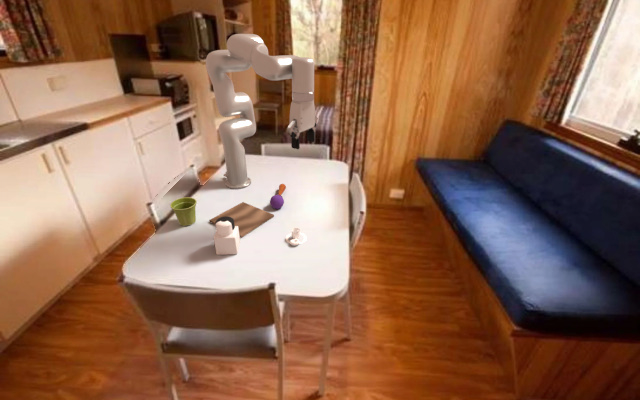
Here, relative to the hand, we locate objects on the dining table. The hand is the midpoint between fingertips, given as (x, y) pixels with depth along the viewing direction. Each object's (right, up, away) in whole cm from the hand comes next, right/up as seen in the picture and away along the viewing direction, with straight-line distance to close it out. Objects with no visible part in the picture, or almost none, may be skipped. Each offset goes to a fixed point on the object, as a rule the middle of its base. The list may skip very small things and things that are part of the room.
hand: (303, 144), depth 114 cm
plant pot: (-46, -29, +8) cm, 56 cm away
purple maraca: (-12, -21, +26) cm, 35 cm away
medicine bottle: (-26, -38, -6) cm, 46 cm away
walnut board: (-25, -28, +11) cm, 39 cm away
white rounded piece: (-6, -36, 0) cm, 36 cm away
